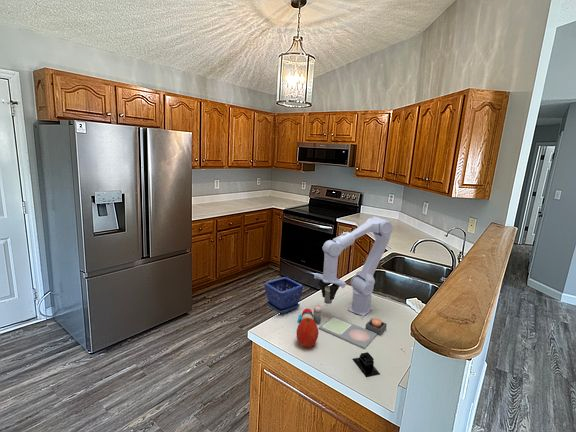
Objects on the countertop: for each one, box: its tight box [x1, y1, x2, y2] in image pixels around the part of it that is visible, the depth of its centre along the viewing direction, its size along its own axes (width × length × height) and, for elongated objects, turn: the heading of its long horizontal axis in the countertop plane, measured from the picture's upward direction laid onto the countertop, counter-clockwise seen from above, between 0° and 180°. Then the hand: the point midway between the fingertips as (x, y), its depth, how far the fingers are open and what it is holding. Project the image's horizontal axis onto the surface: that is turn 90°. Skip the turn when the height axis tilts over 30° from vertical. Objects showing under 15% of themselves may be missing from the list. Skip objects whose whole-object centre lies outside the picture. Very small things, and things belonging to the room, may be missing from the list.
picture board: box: [318, 316, 378, 350], centre depth 125 cm, size 12×20×1 cm, turn 52°
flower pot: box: [264, 276, 304, 315], centre depth 141 cm, size 13×13×12 cm
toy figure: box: [297, 308, 314, 324], centre depth 128 cm, size 8×5×15 cm
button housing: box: [364, 317, 388, 337], centre depth 127 cm, size 6×6×2 cm
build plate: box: [351, 351, 381, 378], centre depth 104 cm, size 12×7×5 cm, turn 17°
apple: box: [296, 318, 319, 348], centre depth 115 cm, size 8×8×11 cm
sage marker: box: [323, 284, 333, 305], centre depth 133 cm, size 4×4×7 cm
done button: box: [371, 317, 383, 328], centre depth 127 cm, size 4×4×2 cm
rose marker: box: [313, 304, 323, 325], centre depth 130 cm, size 4×4×7 cm
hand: (328, 298), depth 134 cm, fingers closed on sage marker, 3 cm apart
